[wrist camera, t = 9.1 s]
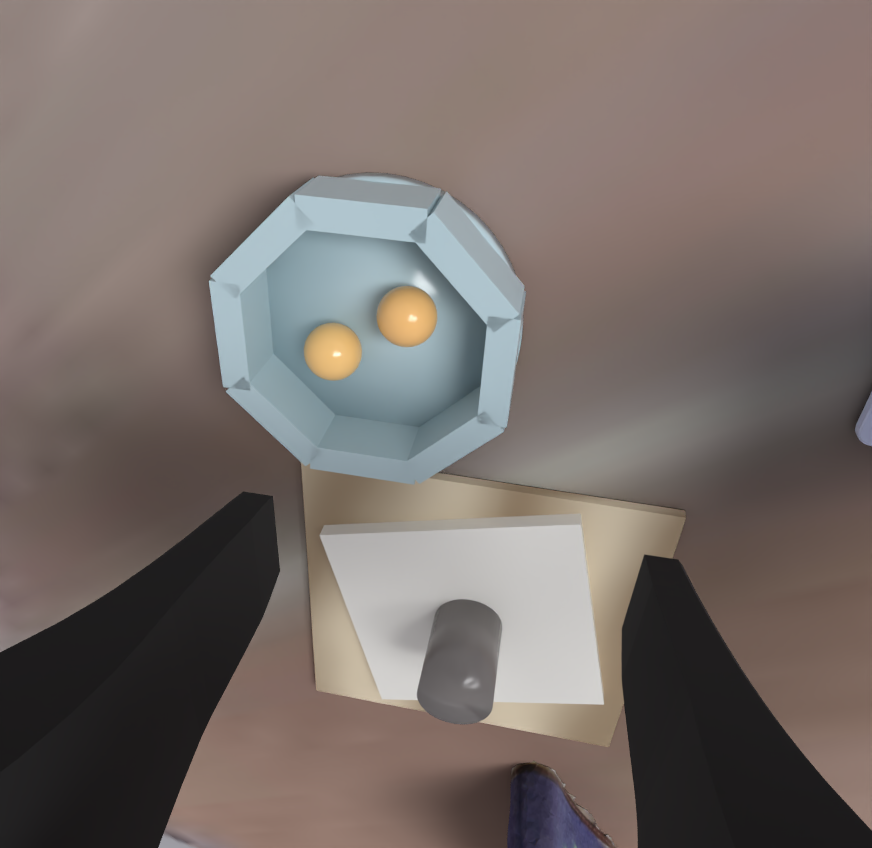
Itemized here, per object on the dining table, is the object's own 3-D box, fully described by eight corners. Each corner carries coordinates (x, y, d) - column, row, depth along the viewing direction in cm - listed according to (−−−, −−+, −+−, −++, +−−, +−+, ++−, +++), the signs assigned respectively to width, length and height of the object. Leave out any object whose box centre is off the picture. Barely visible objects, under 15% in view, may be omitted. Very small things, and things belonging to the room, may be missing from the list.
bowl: (542, 188, 19) (536, 218, 17) (506, 448, 24) (498, 498, 22) (237, 157, 20) (193, 181, 18) (263, 413, 26) (231, 457, 23)
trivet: (684, 510, 25) (686, 517, 24) (608, 739, 32) (608, 747, 32) (304, 452, 26) (300, 458, 26) (318, 683, 34) (316, 690, 34)
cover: (581, 513, 25) (580, 600, 21) (603, 692, 30) (606, 787, 27) (324, 525, 27) (286, 605, 24) (385, 688, 33) (361, 773, 29)
